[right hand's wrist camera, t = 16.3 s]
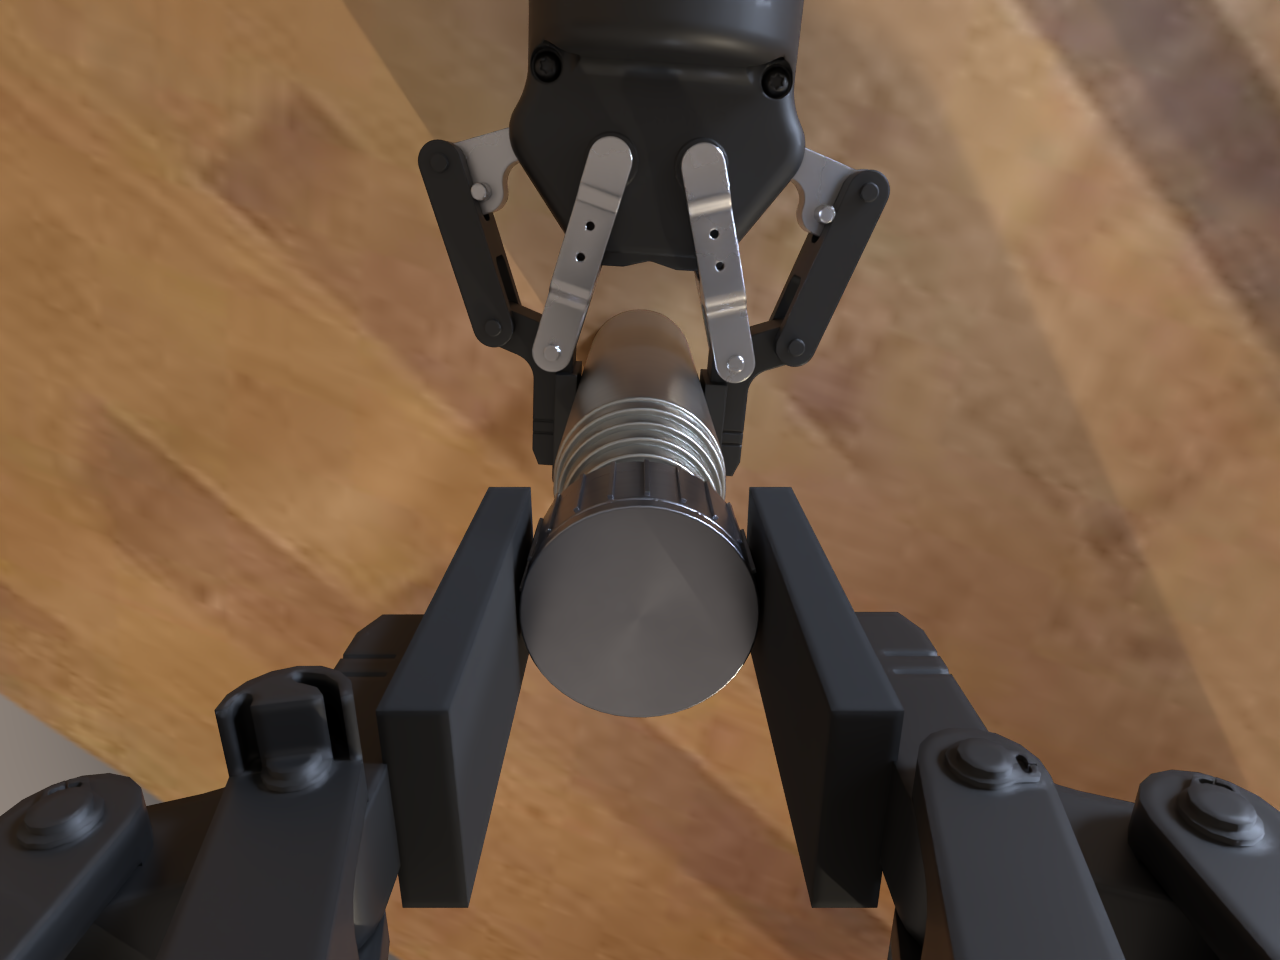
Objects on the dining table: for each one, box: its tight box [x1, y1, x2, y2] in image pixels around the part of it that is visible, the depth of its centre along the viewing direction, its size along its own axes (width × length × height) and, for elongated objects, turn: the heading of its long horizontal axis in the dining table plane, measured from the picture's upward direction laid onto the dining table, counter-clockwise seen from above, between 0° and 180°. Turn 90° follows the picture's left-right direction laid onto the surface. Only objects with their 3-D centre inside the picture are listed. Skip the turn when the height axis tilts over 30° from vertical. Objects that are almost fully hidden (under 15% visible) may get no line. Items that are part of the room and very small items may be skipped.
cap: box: [519, 459, 760, 717], centre depth 14 cm, size 4×4×2 cm
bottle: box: [553, 310, 726, 501], centre depth 22 cm, size 4×4×20 cm
